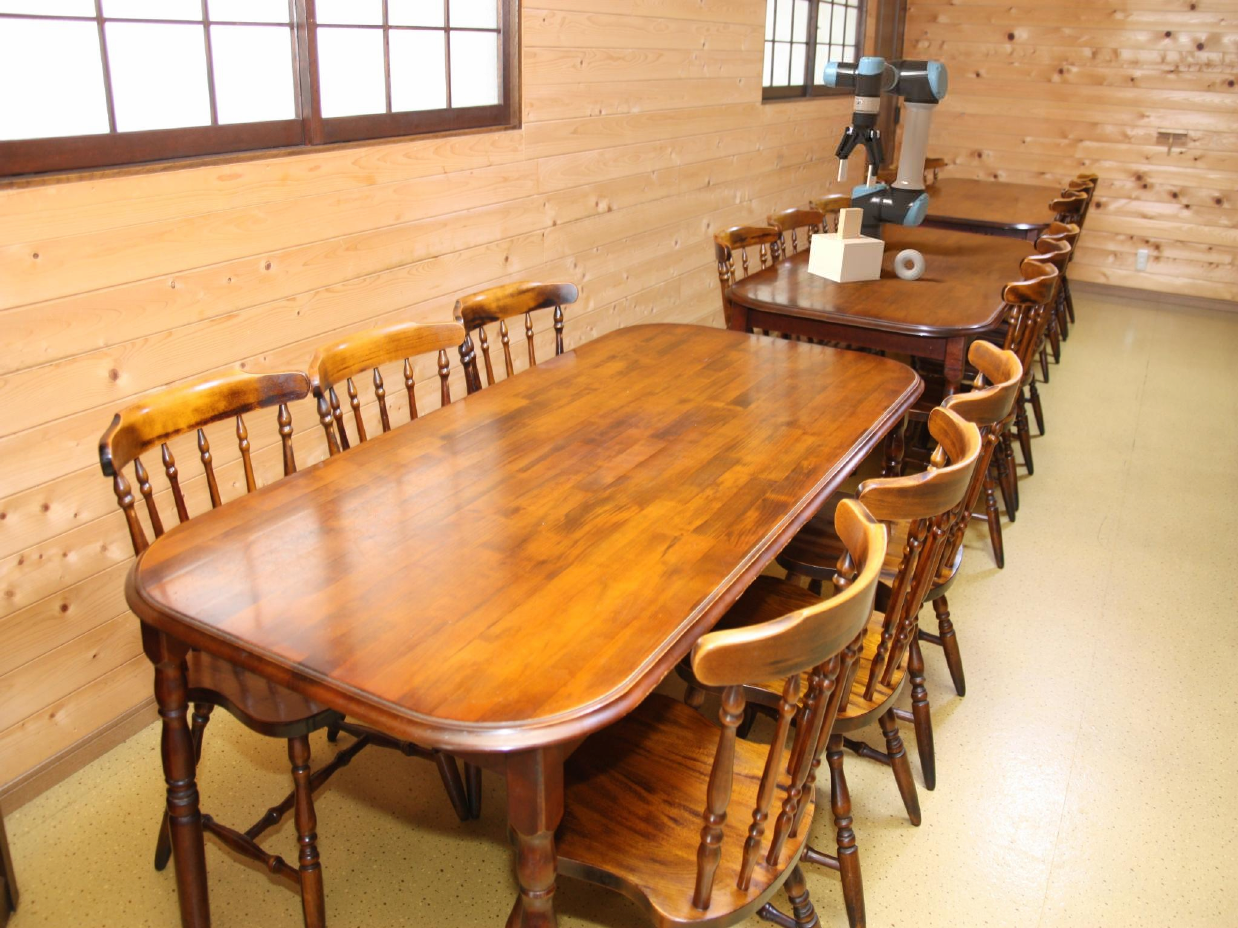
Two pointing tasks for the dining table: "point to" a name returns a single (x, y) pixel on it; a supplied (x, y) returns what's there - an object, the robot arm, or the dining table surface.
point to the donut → (918, 264)
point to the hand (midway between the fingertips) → (856, 184)
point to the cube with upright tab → (846, 251)
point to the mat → (840, 282)
